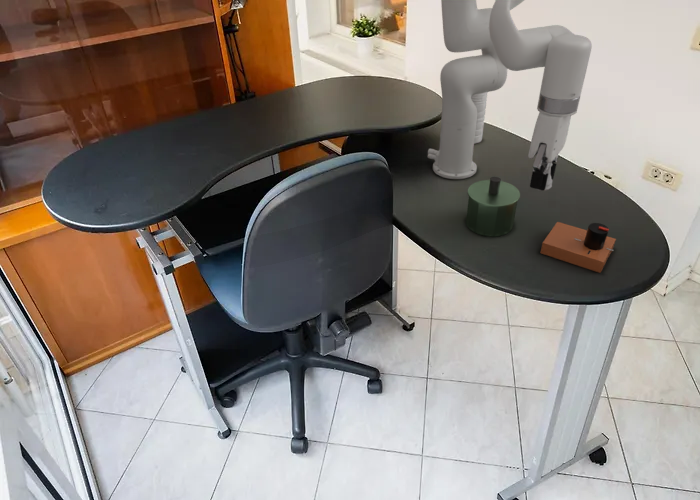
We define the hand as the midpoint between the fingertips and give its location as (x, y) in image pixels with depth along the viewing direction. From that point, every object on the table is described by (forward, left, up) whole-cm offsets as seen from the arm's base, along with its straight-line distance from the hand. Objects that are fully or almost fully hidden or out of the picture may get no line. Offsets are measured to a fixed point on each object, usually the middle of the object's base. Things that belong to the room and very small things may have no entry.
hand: (541, 182), depth 111 cm
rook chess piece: (0, 0, -1) cm, 1 cm away
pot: (-10, 0, -15) cm, 18 cm away
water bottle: (-34, +43, -15) cm, 57 cm away
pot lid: (-10, 0, -6) cm, 12 cm away
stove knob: (+14, 0, -11) cm, 18 cm away
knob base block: (+11, 0, -15) cm, 18 cm away
